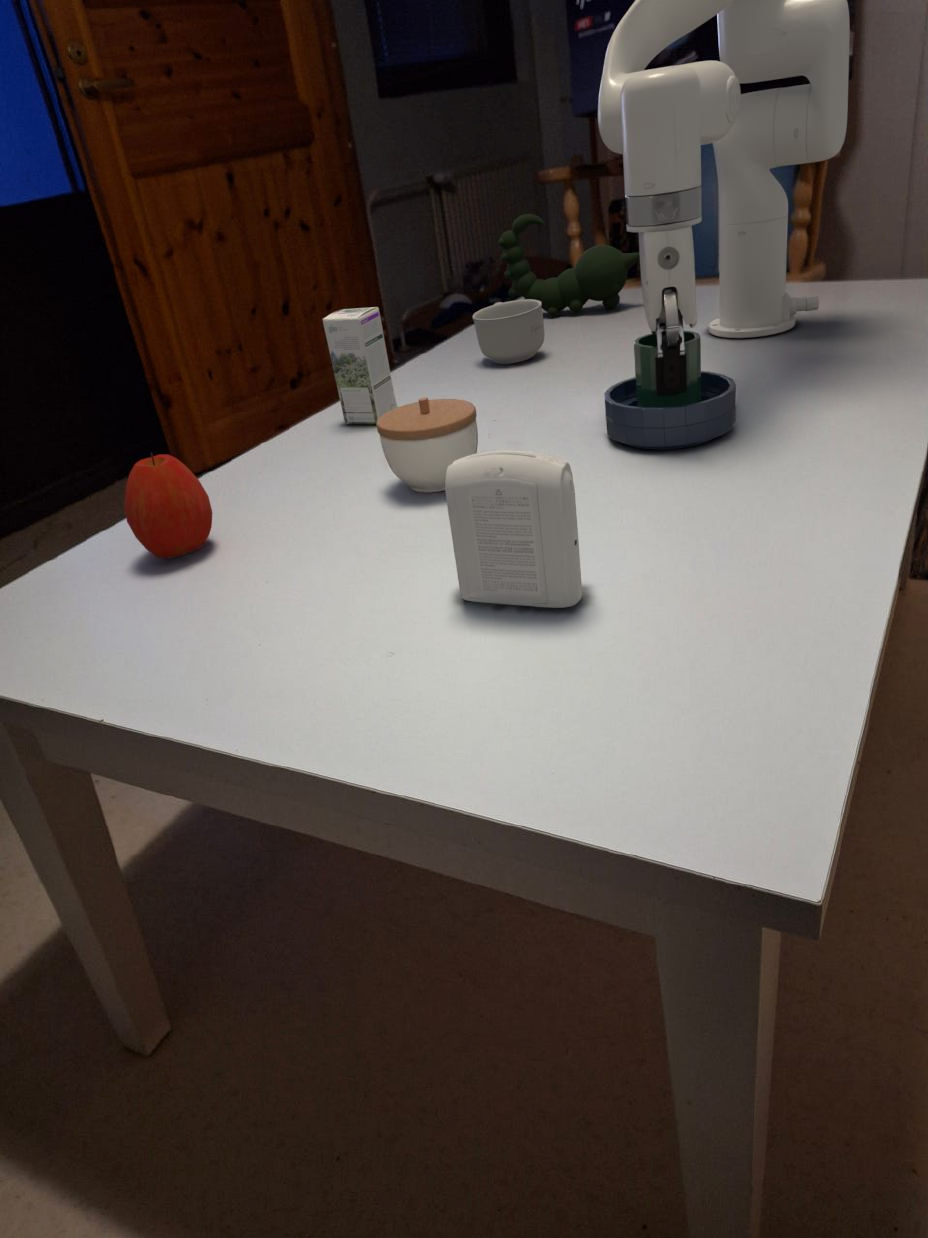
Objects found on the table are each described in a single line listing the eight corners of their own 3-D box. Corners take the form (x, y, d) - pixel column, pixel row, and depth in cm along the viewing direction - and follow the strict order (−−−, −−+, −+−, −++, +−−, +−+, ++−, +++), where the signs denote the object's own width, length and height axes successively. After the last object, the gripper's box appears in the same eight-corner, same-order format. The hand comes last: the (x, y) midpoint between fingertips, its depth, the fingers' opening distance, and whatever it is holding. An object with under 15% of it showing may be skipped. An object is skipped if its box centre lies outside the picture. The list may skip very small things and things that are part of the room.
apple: (178, 574, 87) (143, 470, 82) (124, 564, 91) (87, 464, 86) (238, 539, 93) (209, 440, 88) (184, 530, 97) (153, 435, 92)
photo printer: (589, 587, 73) (577, 441, 67) (575, 613, 70) (561, 462, 64) (473, 581, 77) (451, 443, 71) (454, 605, 74) (430, 462, 68)
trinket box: (497, 463, 102) (486, 381, 97) (466, 501, 93) (453, 413, 88) (410, 465, 105) (396, 385, 101) (373, 501, 97) (356, 416, 92)
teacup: (548, 362, 137) (543, 308, 133) (478, 372, 138) (471, 318, 134) (543, 342, 149) (538, 292, 145) (479, 351, 150) (472, 301, 146)
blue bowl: (725, 406, 107) (725, 364, 105) (744, 446, 95) (744, 400, 93) (605, 418, 110) (603, 378, 107) (609, 459, 98) (606, 414, 95)
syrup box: (399, 411, 125) (380, 304, 118) (378, 425, 121) (357, 315, 114) (364, 411, 128) (343, 306, 121) (343, 425, 123) (320, 317, 116)
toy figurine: (511, 333, 166) (647, 307, 158) (489, 224, 158) (632, 191, 150) (521, 321, 174) (651, 296, 166) (500, 217, 165) (637, 185, 157)
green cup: (697, 397, 104) (696, 327, 100) (704, 416, 98) (703, 342, 94) (635, 404, 105) (632, 335, 101) (639, 423, 99) (635, 350, 95)
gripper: (712, 214, 83) (713, 402, 92) (691, 196, 98) (694, 359, 107) (630, 226, 84) (638, 410, 93) (622, 206, 99) (630, 367, 108)
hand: (668, 382), depth 100 cm, fingers closed on green cup, 7 cm apart
